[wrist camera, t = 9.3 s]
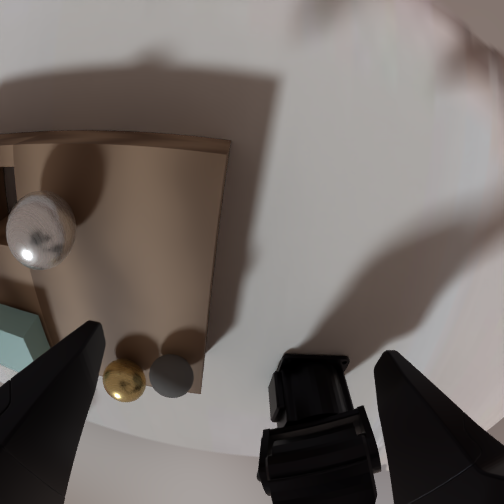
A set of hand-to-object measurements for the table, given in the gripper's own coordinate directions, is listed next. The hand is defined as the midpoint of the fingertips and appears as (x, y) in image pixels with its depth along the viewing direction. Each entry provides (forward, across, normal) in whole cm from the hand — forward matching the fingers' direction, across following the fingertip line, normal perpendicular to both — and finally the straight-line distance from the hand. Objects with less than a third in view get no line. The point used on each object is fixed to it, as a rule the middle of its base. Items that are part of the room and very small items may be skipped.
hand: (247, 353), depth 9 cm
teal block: (+7, +17, +11) cm, 21 cm away
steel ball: (+6, +10, 0) cm, 12 cm away
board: (+12, +12, +5) cm, 17 cm away
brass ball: (+6, +7, +12) cm, 15 cm away
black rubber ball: (+6, +4, +10) cm, 12 cm away
